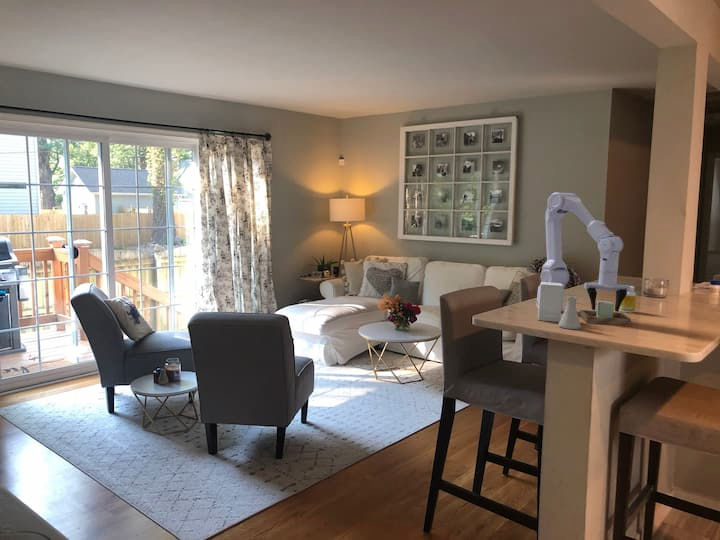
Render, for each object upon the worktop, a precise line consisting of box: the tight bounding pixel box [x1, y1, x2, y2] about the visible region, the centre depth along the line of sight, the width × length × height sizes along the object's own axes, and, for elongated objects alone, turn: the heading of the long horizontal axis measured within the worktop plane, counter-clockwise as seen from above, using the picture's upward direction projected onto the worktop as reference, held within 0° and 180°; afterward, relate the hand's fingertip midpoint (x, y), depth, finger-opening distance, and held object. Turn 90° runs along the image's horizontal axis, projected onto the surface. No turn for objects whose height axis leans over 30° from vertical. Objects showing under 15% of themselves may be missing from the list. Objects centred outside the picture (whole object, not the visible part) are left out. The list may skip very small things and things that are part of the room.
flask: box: [558, 295, 582, 330], centre depth 185 cm, size 7×7×10 cm
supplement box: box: [537, 281, 563, 323], centre depth 196 cm, size 7×7×13 cm
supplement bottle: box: [619, 285, 637, 313], centre depth 216 cm, size 5×5×10 cm
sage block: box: [596, 300, 615, 318], centre depth 197 cm, size 4×4×6 cm
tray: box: [579, 309, 632, 327], centre depth 197 cm, size 14×12×2 cm
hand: (605, 310), depth 197 cm, fingers open, 7 cm apart
